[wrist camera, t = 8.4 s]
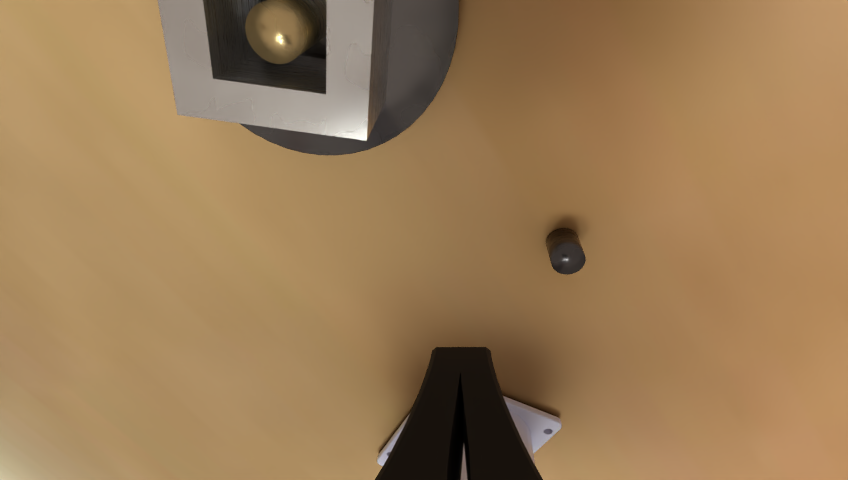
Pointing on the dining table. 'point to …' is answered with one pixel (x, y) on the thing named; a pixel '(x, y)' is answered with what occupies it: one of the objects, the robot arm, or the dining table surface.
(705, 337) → the dining table surface
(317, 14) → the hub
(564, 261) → the stand stub
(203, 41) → the collar
